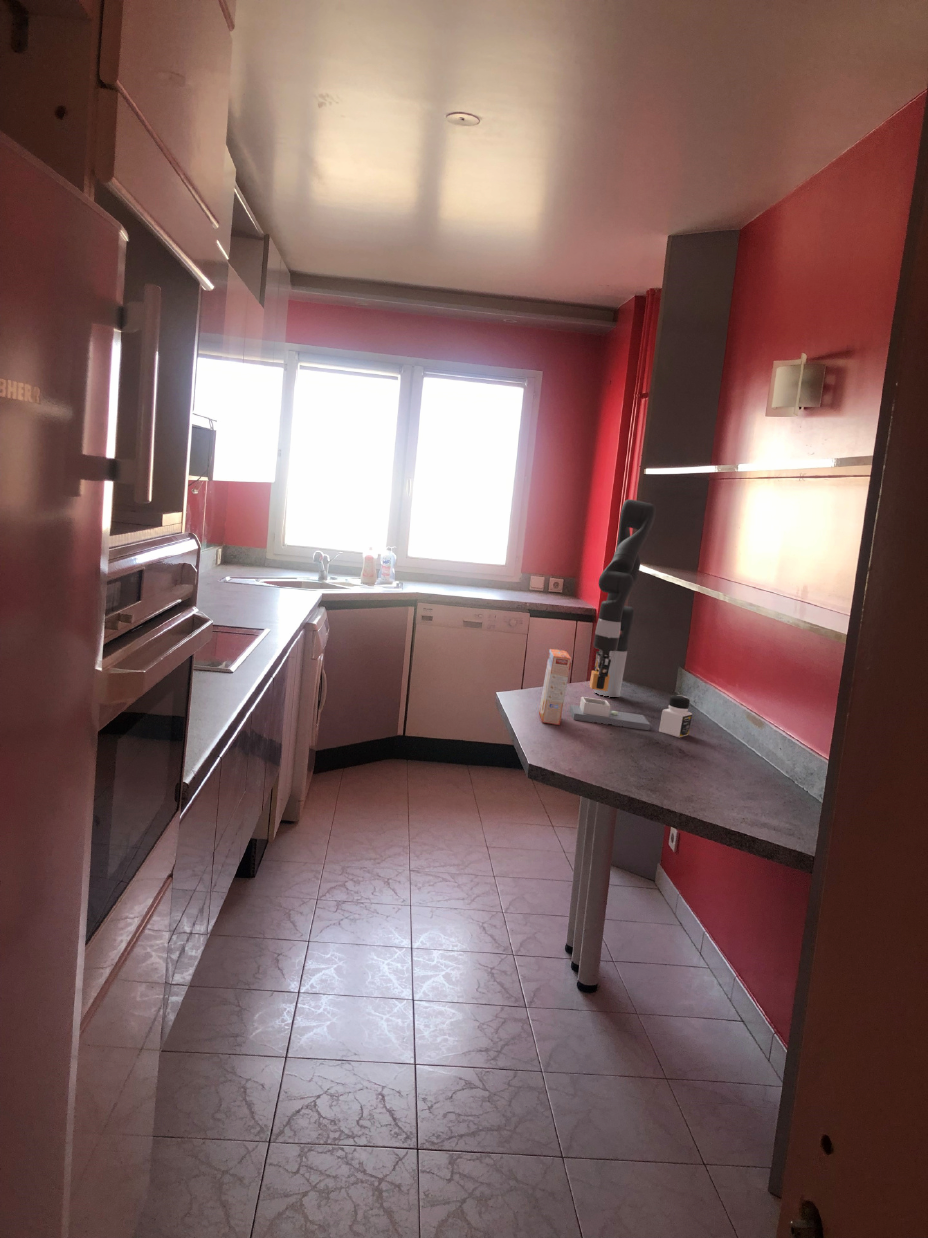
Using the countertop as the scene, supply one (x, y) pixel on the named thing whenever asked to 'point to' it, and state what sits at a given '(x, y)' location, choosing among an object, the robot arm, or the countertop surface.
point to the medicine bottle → (676, 717)
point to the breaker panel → (606, 714)
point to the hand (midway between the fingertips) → (598, 686)
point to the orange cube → (594, 681)
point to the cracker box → (554, 686)
